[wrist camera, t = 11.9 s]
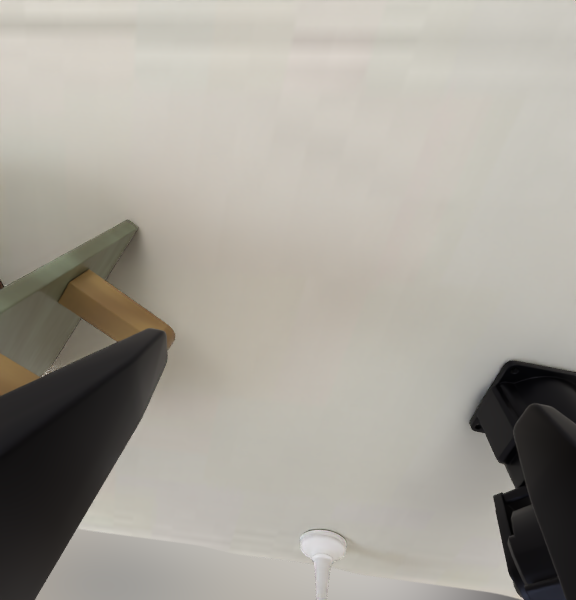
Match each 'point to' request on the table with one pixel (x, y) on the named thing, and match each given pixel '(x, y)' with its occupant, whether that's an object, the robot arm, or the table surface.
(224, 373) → the table surface
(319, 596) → the chess piece
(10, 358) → the door
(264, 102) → the table surface
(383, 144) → the table surface
